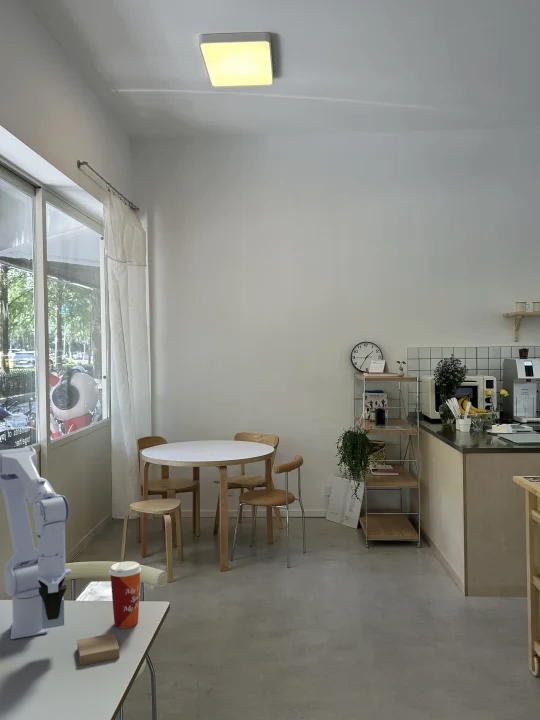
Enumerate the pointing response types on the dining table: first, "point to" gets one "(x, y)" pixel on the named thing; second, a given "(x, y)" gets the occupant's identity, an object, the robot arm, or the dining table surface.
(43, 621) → the block
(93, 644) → the base
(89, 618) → the dining table surface
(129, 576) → the paper cup
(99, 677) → the dining table surface
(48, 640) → the dining table surface
